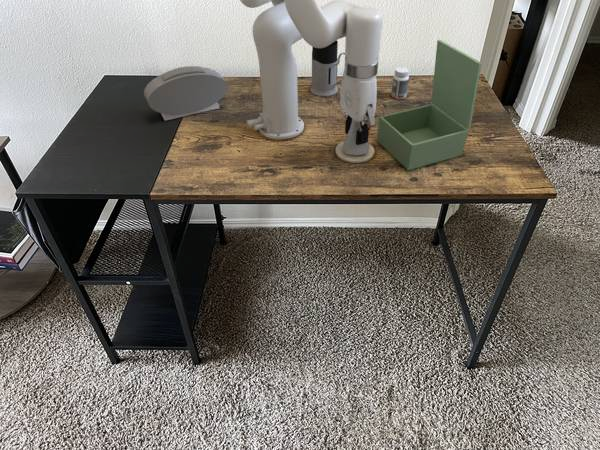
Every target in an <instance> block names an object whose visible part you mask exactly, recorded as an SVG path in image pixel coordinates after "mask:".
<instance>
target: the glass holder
mask: <svg viewBox="0 0 600 450" xmlns="http://www.w3.org/2000/svg"><path fill="white" fill-rule="evenodd" d="M338 43H339V40H336V41H335V42H333V43H332V44H330V45H328V46H327V47H324V48H315V47H312V46H311V47H312V50H311V87H310V92H311V94H313V95H315V96H318V97H330V96H335V95H336V94H337V93H338V91H339V88H338V84H339V83H342V79H340V80H338V66H339V65H340V62H341V56H343V55H344V56H345V52H341V53H340V54H339V55H338V47H339V44H338Z"/></svg>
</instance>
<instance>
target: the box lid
mask: <svg viewBox="0 0 600 450" xmlns="http://www.w3.org/2000/svg"><path fill="white" fill-rule="evenodd" d="M434 60H435V62H434V72H433V73H434V74H433V82H432V92H431V93H432V94H431V100H430V104H433V105H434V106H436V107H437V108H438V109H440V110H441V111H442V112H444V113H445V114H446V115H448V116H449V117H451V118H452V119H453V120H455V121H456V122H457V123H459V124H460V125H462V126H463V127H464V128H466V129H467V130H470V129H471V126H472V121H473V115H474V110H475V104H476V99H477V94H478V93H477V92H478V88H479V81H480V75H481V70H482V62H481V61H479V60H477V59H476V58H475V57H472V56H470V55H468V54H466V53H464V52H463V51H461V50H460V49H458V48H456V47H454V46H452V45H450V44H449V43H447V42H445V41H443V40H442V39H437V42H436V51H435V59H434Z"/></svg>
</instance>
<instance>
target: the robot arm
mask: <svg viewBox="0 0 600 450" xmlns="http://www.w3.org/2000/svg"><path fill="white" fill-rule="evenodd" d="M239 1H240V2H241V3H242V5H243V6H245V7H246V8H249V9H255V8H259V7H261V6H263V5H266V4H269V3H270V2H271V4H272V5H273V6H270V7H269V8H267V9H265V10H264V11H262V12H261V13H260V14H258V15H257V17H256V18H255V20H254V22H253V25H252V38H253V42H254V46H255V49H256V55H257V59H258V66H259V67H258V68H259V69H258V70H259V77H260V78H259V79H260V90H261V91H260V92H261V101H262V112H260V113H259V116H257V118H255V119H253V118H252V119H249V120H248V119H247V120H246V126H247V128H248V129H249V128H253V129H254V130H255V131H257V130H258V132H259V133H260V134H261V135H262V136H264V137H265V138H268V139H271V140H275V141H276V140H277V141H281V140H291V139H293V138H295V137H298V136H299V135H301V134H302V133H303V132H304V129H305V123H304V121H303V120H302V119H301V118H300V117H299V92H298V90H299V89H298V64H297V60H296V57H295V55H294V53H293V50H292V46H293V45H294V44H295V43H297V42H299V41H300V40H302V39H303V40H304V41H305V42H306V43H307V44H308V45H309V46H310V47H315V48H324V47H327V46H328V45H330V44H332V43H333V42H335V41H336V40H337V41H339V40H340V39H343V38H345V46H344V48H345V49H344V53H345V55H344V69H343V71H342V72H343V73H342V77H341V80H342V81H341V82H340V83H341V85H340V93H339V106H340V108H341V109H342V110H343V111H344V112H345V115H344V119H345V121H344V123H345V125H344V134H346V135H347V134H348V132H349V130H350V127H351V123H352V119H354V120H355V121H356V122H358V130H356V145H361V144H364V143H367V142H368V143H369V135H370V130H371V128H373V127H375V126H376V120H375V116H376V112H377V100H378V97H377V96H378V95H377V94H378V84H377V76H378V74H379V73H378V70H379V61H380V51H381V42H382V41H381V39H382V30H383V29H382V28H383V20H384V19H383V14H382V12H381V10H380V9H378V8H375V7H372V6H360V5H357V4H354V3H352V2H350V1H348V0H332V1H330V2H328V3H326V4H323V5H321V6H320V4H319V3H318V2H317V0H239ZM365 116H366V117H365ZM365 120H366V123H364V125H362V121H365Z"/></svg>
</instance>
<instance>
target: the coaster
mask: <svg viewBox="0 0 600 450" xmlns="http://www.w3.org/2000/svg"><path fill="white" fill-rule="evenodd" d="M343 143H344V141H342V142H339V143H338V144H337V145H336V147H335V155H336V157H337V158H338V159H340V160H342V161H344V162H346V163H352V164H360V163H361V164H363V163H366V162H368V161H370V160H372V159H373V158H374V156H375V151H376V150H375V148H374V146H373V145H372V144H371V143H369V147H370V148H369V150H368V152H367V153H366V154H361V155H351V154H346V153H345V152H344V151H343V149H342V145H343Z"/></svg>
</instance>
